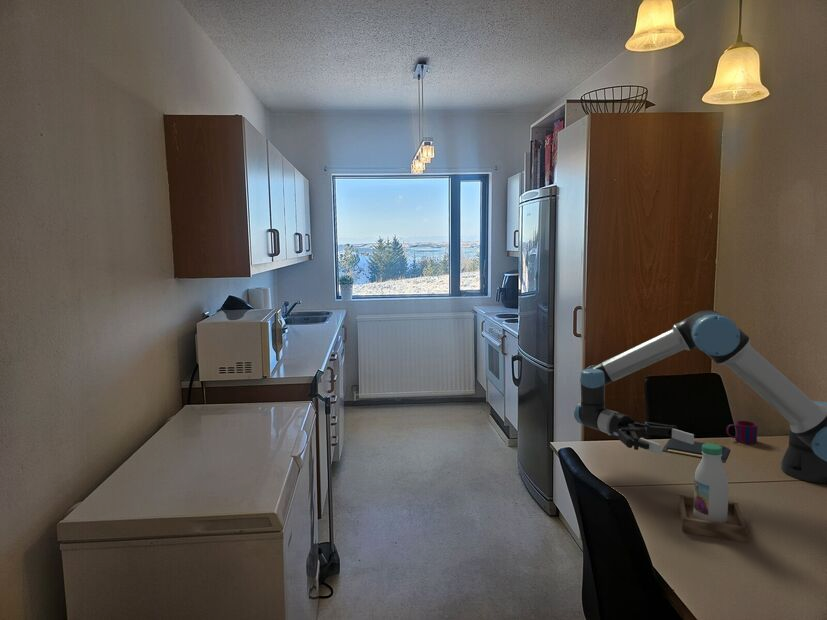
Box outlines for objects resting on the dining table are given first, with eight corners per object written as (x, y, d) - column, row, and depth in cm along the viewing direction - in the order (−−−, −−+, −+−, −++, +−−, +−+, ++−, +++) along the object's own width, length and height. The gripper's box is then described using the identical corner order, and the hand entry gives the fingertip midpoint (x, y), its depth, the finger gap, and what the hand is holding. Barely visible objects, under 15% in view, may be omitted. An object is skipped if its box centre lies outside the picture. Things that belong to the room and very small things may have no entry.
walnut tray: (737, 515, 138) (737, 502, 138) (746, 542, 126) (747, 528, 125) (678, 506, 144) (679, 494, 144) (682, 531, 131) (682, 518, 131)
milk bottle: (723, 514, 137) (725, 442, 135) (730, 529, 130) (733, 452, 128) (691, 510, 140) (692, 439, 138) (696, 524, 133) (698, 450, 130)
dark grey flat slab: (731, 445, 183) (725, 459, 171) (731, 450, 183) (724, 465, 172) (670, 435, 196) (660, 447, 184) (670, 439, 196) (660, 452, 184)
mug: (759, 445, 186) (760, 426, 185) (728, 443, 189) (729, 425, 188) (752, 438, 193) (753, 421, 192) (722, 437, 195) (723, 419, 194)
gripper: (644, 428, 168) (705, 448, 149) (587, 444, 157) (646, 467, 138) (643, 405, 167) (706, 422, 148) (586, 420, 156) (645, 440, 137)
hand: (677, 444), depth 143 cm, fingers open, 13 cm apart
